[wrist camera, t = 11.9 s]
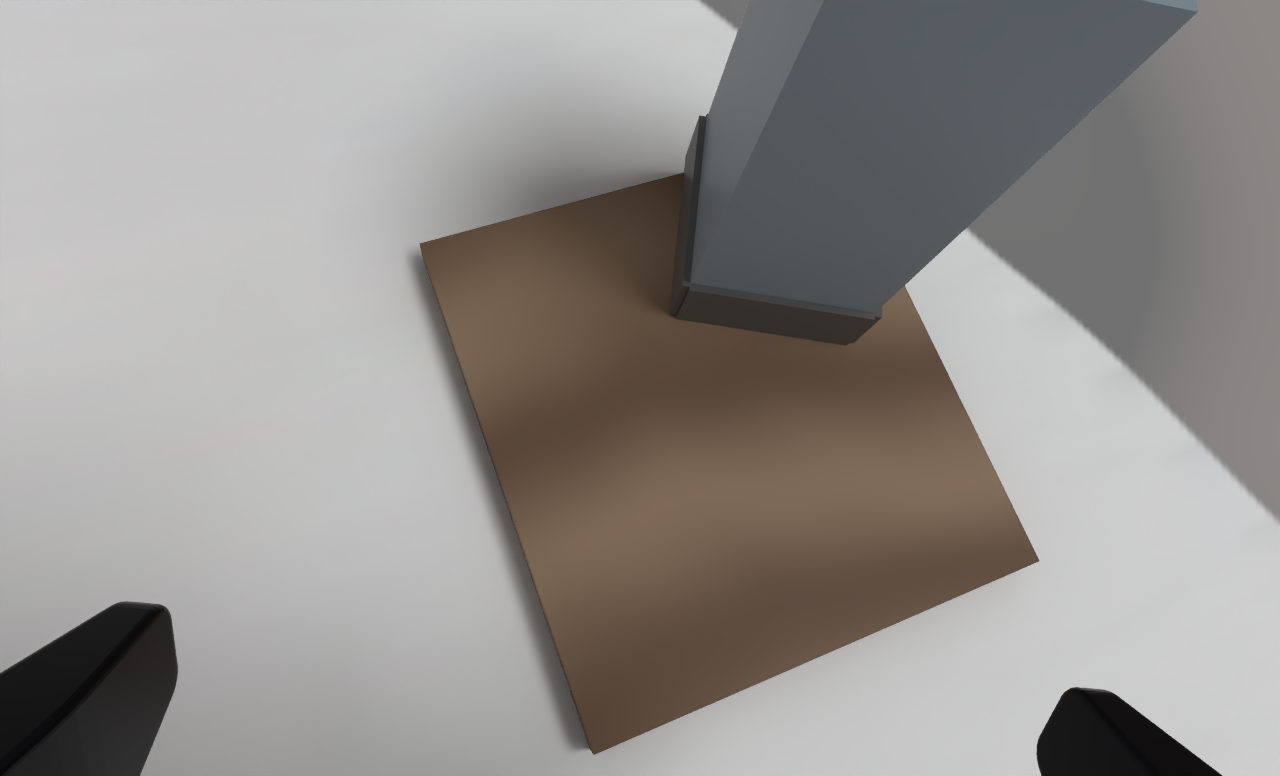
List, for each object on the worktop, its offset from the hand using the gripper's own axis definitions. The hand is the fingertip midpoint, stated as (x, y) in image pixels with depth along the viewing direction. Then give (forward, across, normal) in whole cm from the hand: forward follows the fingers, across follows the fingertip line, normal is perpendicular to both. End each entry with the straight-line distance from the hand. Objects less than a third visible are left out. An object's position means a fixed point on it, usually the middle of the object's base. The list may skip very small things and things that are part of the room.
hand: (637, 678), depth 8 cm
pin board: (+15, -4, +5) cm, 16 cm away
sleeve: (+17, -5, 0) cm, 18 cm away
